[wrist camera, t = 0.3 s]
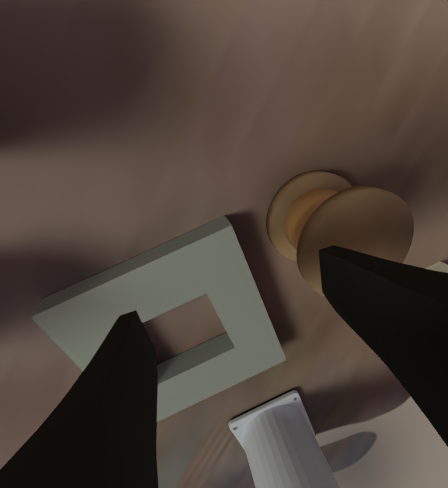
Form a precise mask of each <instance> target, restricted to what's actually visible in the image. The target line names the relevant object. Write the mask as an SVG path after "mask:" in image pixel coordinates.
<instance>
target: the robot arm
mask: <svg viewBox="0 0 448 488" xmlns="http://www.w3.org/2000/svg"><path fill="white" fill-rule="evenodd" d="M318 251H319V262H320V273H321V285H322V293H323V294H324V295H325V297H326V298H327V300H328V301H329V303H330V304H331V305H332V307H333V308H334V309H335V311H336V312H337V313H338V314H339V315H340V316H341V317H342V319H343V320H344V321H345V322H346V323H347V324H348V325H349V326H350V327H351V328H352V329H353V330H354V331H355V332H356V333H357V334H358V335H359V336H360V337H361V339H362V340H363V341H364V342H365V343H366V344H367V345H368V346H369V347H370V348H371V349H372V350H373V351H374V352H375V353H376V354H377V355H378V356H379V357H380V359H381V360H382V361H383V362H384V363H385V364H386V365H387V366H388V368H389V369H390V370H391V371H392V373H393V374H394V375H395V376H396V378H397V379H398V380H399V382H400V383H401V384H402V385H403V387H404V388H405V389H406V390H407V392H408V393H409V394H410V396H411V397H412V398H413V400H414V401H415V402H416V404H417V405H418V406H419V408H420V409H421V410H422V412H423V413H424V414H425V416H426V417H427V418H428V419H429V421H430V422H431V424H432V425H433V427H434V428H435V429H436V431H437V432H438V434H439V435H440V436H441V438H442V439H443V441H444V442H445V443H446V445H447V446H448V273H445V272H439V271H434V270H429V269H424V268H419V267H415V266H411V265H406V264H402V263H398V262H394V261H390V260H386V259H383V258H379V257H375V256H372V255H368V254H365V253H361V252H358V251H354V250H350V249H347V248H343V247H339V246H334V245H332V246H329V247H326V248H323V249H320V250H318ZM157 395H158V372H157V361H156V352H155V348H154V346H153V344H152V342H151V340H150V338H149V336H148V334H147V332H146V330H145V328H144V325H143V323H142V321H141V319H140V317H139V315H138V313H137V311H136V310H135V311H132V312H129V313H126V314H123V315H120V316H119V317H118V319H117V320H116V322H115V323H114V325H113V326H112V328H111V330H110V331H109V333H108V334H107V336H106V338H105V339H104V341H103V342H102V344H101V345H100V347H99V349H98V350H97V352H96V353H95V355H94V356H93V358H92V359H91V361H90V362H89V364H88V365H87V367H86V368H85V369H84V371H83V372H82V374H81V375H80V376H79V378H78V379H77V381H76V382H75V383H74V385H73V386H72V388H71V389H70V390H69V392H68V393H67V394H66V396H65V397H64V398H63V399H62V401H61V402H60V403H59V405H58V406H57V407H56V408H55V409H54V411H53V412H52V413H51V414H50V415H49V417H48V418H47V419H46V420H45V421H44V423H43V424H42V425H41V426H40V427H39V428H38V430H37V431H36V432H35V433H34V434H33V435H32V436H31V437H30V438H29V439H28V440H27V442H26V443H25V444H24V445H23V446H22V447H21V448H20V449H19V450H18V451H17V452H16V453H15V455H14V456H13V457H12V458H11V459H10V460H9V461H8V462H7V463H6V464H5V465H4V466H3V467H2V468H1V469H0V488H158V476H157V460H156V429H157ZM228 424H229V428H230V429H231V431H232V432H233V434H234V435H235V437H236V438H237V440H238V441H239V443H240V444H241V446H242V447H243V449H244V450H245V452H246V454H247V458H248V462H249V465H250V469H251V473H252V476H253V480H254V484H255V487H256V488H340V487H339V485H338V483H337V481H336V479H335V477H334V475H333V473H332V471H331V469H330V467H329V465H328V463H327V461H326V459H325V457H324V455H323V453H322V451H321V449H320V447H319V445H318V443H317V441H316V439H315V433H314V430H313V428H312V425H311V423H310V420H309V418H308V415H307V413H306V411H305V408H304V406H303V403H302V401H301V398H300V396H299V394H298V392H297V391H296V390H292V391H290V392H288V393H286V394H284V395H282V396H280V397H278V398H276V399H274V400H272V401H270V402H268V403H265V404H263V405H261V406H259V407H257V408H255V409H253V410H251V411H249V412H247V413H245V414H243V415H241V416H239V417H237V418H235V419H233V420H231V421H230V422H229V423H228Z"/></svg>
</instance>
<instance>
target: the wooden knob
mask: <svg viewBox="0 0 448 488" xmlns="http://www.w3.org/2000/svg"><path fill="white" fill-rule="evenodd" d="M266 226H267V233H268V236H269V238H270V241H271V242H272V244H273V245H274V246H275V248H276V249H277V250H278V251H279V252H280V253H281V254H282V255H283V256H284V257H286V258H287V259H289V260H291V261H294V262H297V263H298V268H299V270H300V273H301V274H302V276H303V277H304V279H305V280H306V281H307V282H308V283H309V284H310V285H311V286H312V287H313V289H314V290H315V291H317V292H318V293H319V294H321V295H322V296H324V297H325V295H324V294H323V293H322V285H321V273H320V262H319V251H318V250H320V249H323V248H326V247H329V246H332V245H334V246H339V247H343V248H347V249H350V250H354V251H358V252H361V253H365V254H368V255H372V256H375V257H379V258H383V259H386V260H390V261H394V262H398V263H402V262H403V261H404V259H405V257H406V255H407V253H408V251H409V248H410V246H411V242H412V238H413V231H414V224H413V217H412V214H411V211H410V209H409V207H408V205H407V204H406V202H405V201H404V200H403V199H402V198H401V197H399V196H398V195H396V194H394V193H392V192H389V191H386V190H383V189H380V188H376V187H372V186H355V187H352V186H351V184H350V183H349V182H348V181H346V180H345V179H344V178H342V177H340V176H338V175H335V174H332V173H329V172H325V171H309V172H304V173H302V174H299V175H297V176H295V177H293V178H292V179H290V180H289V181H288V182H287V183H285V184H284V185H283V186H282V187H281V188H280V189H279V191H278V192H277V193H276V195H275V196H274V198H273V200H272V202H271V204H270V206H269V209H268V213H267V219H266Z"/></svg>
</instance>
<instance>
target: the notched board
mask: <svg viewBox="0 0 448 488" xmlns="http://www.w3.org/2000/svg"><path fill="white" fill-rule="evenodd" d="M206 293H207V295H208V297H209V299H210V301H211V303H212V305H213V307H214V309H215V311H216V313H217V314H218V316H219V318H220V320H221V322H222V324H223V326H224V328H225V330H226V333H224V334H221V335H219V336H217V337H215V338H213V339H211V340H209V341H207V342H204V343H202V344H200V345H198V346H196V347H194V348H192V349H190V350H188V351H185V352H183V353H181V354H179V355H177V356H175V357H173V358H171V359H169V360H166V361H164V362H162V363H160V364H158V365H157V372H158V395H157V422H158V421H160V420H162V419H165V418H167V417H169V416H171V415H173V414H175V413H177V412H179V411H181V410H183V409H185V408H187V407H189V406H192V405H194V404H196V403H198V402H200V401H202V400H204V399H206V398H208V397H210V396H212V395H214V394H216V393H219V392H221V391H223V390H225V389H227V388H229V387H231V386H233V385H235V384H237V383H239V382H241V381H243V380H246V379H248V378H250V377H252V376H254V375H256V374H258V373H260V372H262V371H264V370H266V369H268V368H270V367H273V366H275V365H277V364H279V363H281V362H283V361H285V360H286V358H285V355H284V353H283V350H282V348H281V345H280V343H279V340H278V338H277V336H276V333H275V331H274V328H273V326H272V323H271V321H270V318H269V316H268V313H267V311H266V308H265V306H264V303H263V301H262V299H261V296H260V294H259V291H258V289H257V286H256V284H255V281H254V279H253V276H252V274H251V271H250V269H249V267H248V264H247V262H246V259H245V257H244V254H243V252H242V249H241V247H240V244H239V242H238V239H237V237H236V234H235V232H234V230H233V227H232V225H231V223H230V222H229V221H228V219H227V218H226V216H223V217H221V218H218V219H216V220H214V221H212V222H210V223H207V224H205V225H203V226H201V227H199V228H196V229H194V230H192V231H190V232H188V233H185V234H183V235H181V236H179V237H177V238H174V239H172V240H170V241H168V242H166V243H163V244H161V245H159V246H157V247H155V248H152V249H150V250H148V251H146V252H144V253H141V254H139V255H137V256H135V257H133V258H131V259H128V260H126V261H124V262H122V263H120V264H117V265H115V266H113V267H111V268H109V269H106V270H104V271H102V272H100V273H98V274H95V275H93V276H91V277H89V278H87V279H84V280H82V281H80V282H78V283H76V284H73V285H71V286H69V287H67V288H65V289H62V290H60V291H58V292H56V293H54V294H52V295H49V296H47V297H45V298H43V299H41V301H40V303H39V304H38V306H37V307H36V309H35V311H34V312H33V314H32V316H31V318H32V319H33V320H34V321H35V322H36V324H37V325H38V326H39V327H40V328H41V329H42V330H43V331H44V332H45V333H46V334H47V335H48V336H49V337H50V338H51V339H52V340H53V341H54V342H55V343H56V344H57V345H58V346H59V347H60V348H61V349H62V350H63V351H64V352H65V353H66V355H67V356H68V357H69V358H70V359H71V360H72V361H73V362H74V363H75V364H76V365H77V366H78V367H79V368H80V369H81V370H82V371H84V369H85V368H86V367H87V365H88V364H89V362H90V361H91V359H92V358H93V356H94V355H95V353H96V352H97V350H98V349H99V347H100V345H101V344H102V342H103V341H104V339H105V338H106V336H107V334H108V333H109V331H110V330H111V328H112V326H113V325H114V323H115V322H116V320H117V319H118V317H119V316H120V315H123V314H126V313H129V312H132V311H135V310H136V311H137V313H138V315H139V317H140V319H141V321H142V323H143V322H146V321H148V320H150V319H152V318H154V317H156V316H159V315H161V314H163V313H165V312H167V311H169V310H171V309H174V308H176V307H178V306H180V305H182V304H184V303H186V302H189V301H191V300H193V299H195V298H197V297H199V296H201V295H204V294H206Z"/></svg>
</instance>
